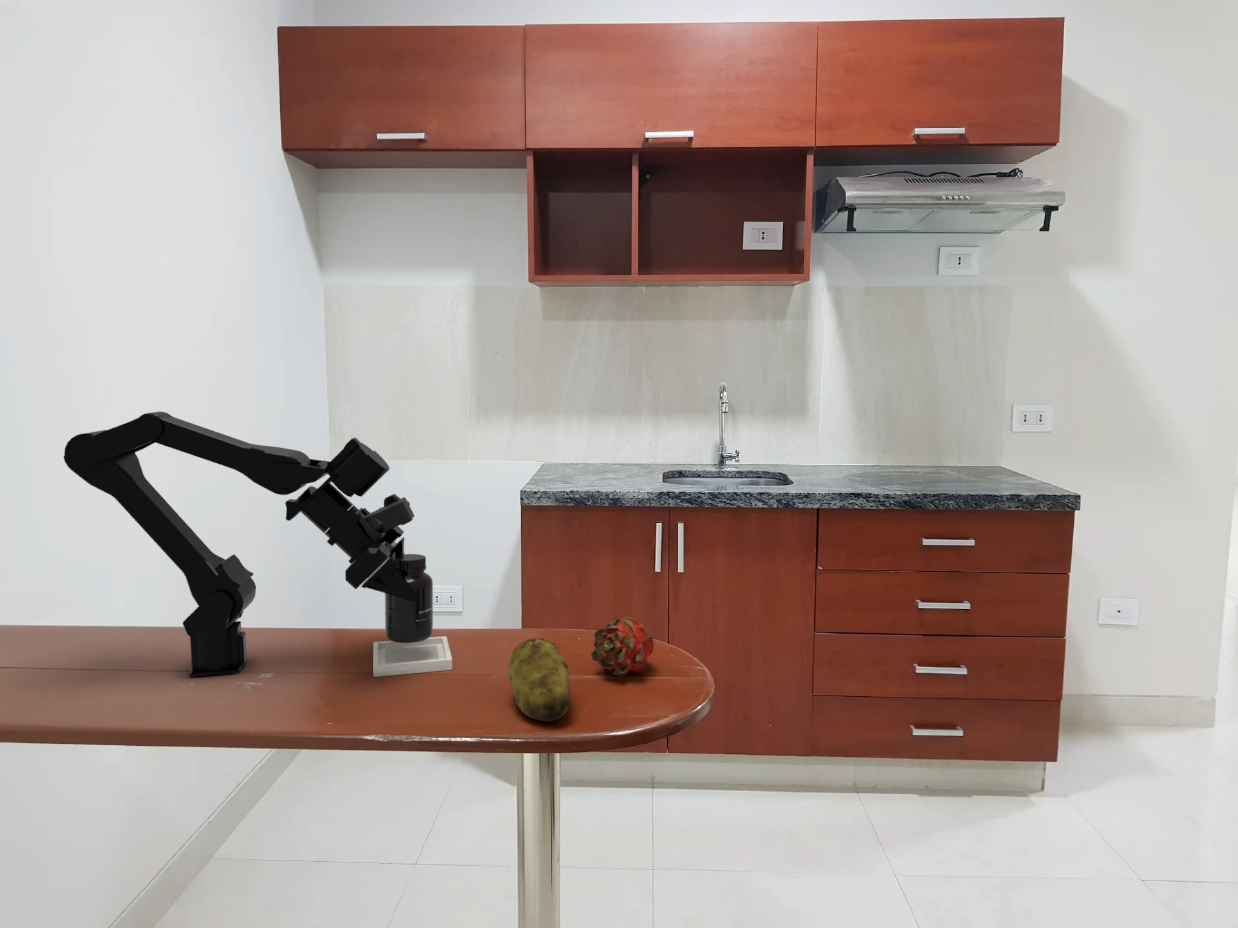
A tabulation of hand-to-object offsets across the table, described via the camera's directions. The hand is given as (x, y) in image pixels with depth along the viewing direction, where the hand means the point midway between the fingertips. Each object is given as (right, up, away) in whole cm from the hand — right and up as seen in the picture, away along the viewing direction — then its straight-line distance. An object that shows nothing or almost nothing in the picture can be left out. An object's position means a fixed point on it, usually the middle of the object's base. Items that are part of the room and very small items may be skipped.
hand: (418, 592), depth 124 cm
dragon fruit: (+30, -11, -3) cm, 32 cm away
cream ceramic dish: (-1, -10, +1) cm, 10 cm away
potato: (+19, -12, -16) cm, 28 cm away
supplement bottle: (-1, -7, +1) cm, 7 cm away
